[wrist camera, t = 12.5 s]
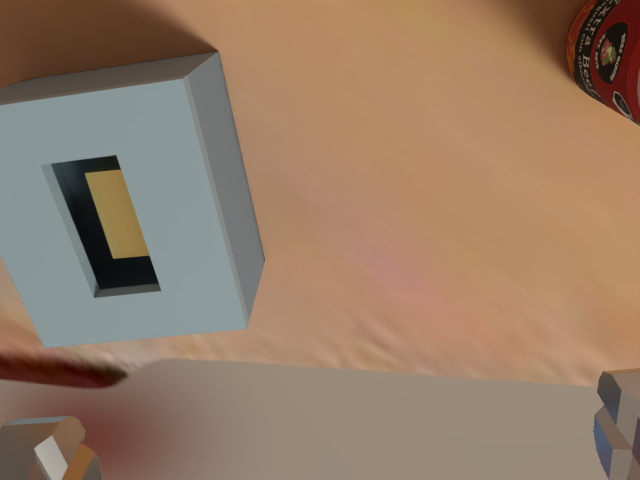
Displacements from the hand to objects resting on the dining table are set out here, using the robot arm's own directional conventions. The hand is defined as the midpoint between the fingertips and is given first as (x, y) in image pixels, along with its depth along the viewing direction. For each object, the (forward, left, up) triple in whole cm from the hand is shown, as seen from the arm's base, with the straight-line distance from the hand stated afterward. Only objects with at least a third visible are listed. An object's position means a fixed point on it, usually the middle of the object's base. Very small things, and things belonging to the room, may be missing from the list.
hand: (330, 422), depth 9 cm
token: (+6, -15, -30) cm, 34 cm away
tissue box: (+6, -15, -31) cm, 35 cm away
